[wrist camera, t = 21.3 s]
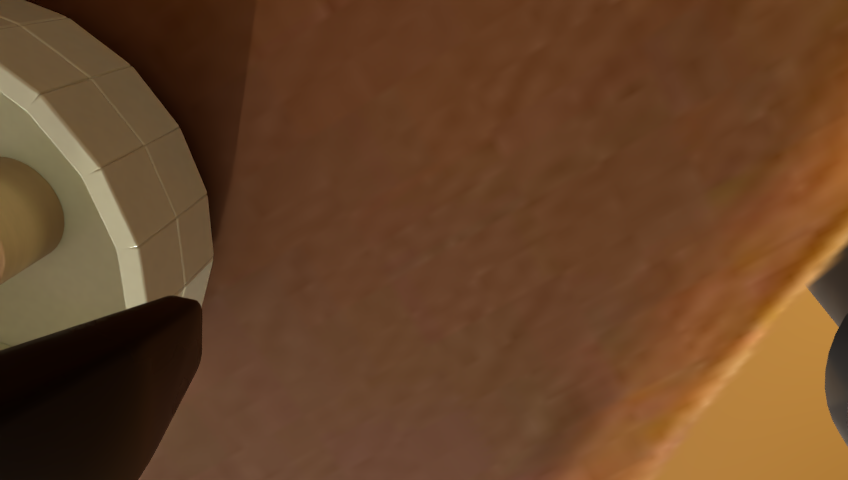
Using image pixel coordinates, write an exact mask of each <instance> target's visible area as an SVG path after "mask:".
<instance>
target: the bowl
mask: <svg viewBox="0 0 848 480" xmlns="http://www.w3.org/2000/svg"><path fill="white" fill-rule="evenodd" d="M0 156H1V157H8V158H12V159H15V160H18V161H20V162H22V163H24V164H26V165H28V166H30V167H31V168H33V169H34V170H35V171H37V172H38V173H39V174H40V175H41V176H42V177H43V178H44V179H45V180H46V181H47V182H48V183H49V184H50V186H51V187H52V188H53V190H54V191H55V193H56V195H57V197H58V199H59V201H60V203H61V206H62V210H63V214H64V232H63V235H62V238H61V240H60V242H59V244H58V246H57V247H56V248H55V249H54V250H53V251H52V252H51V253H49V254H48V255H46V256H45V257H43V258H42V259H40V260H38V261H37V262H35V263H34V264H32V265H31V266H29V267H28V268H26V269H24V270H23V271H21V272H20V273H18V274H17V275H15V276H14V277H12V278H10V279H9V280H7V281H6V282H4V283H3V284H1V285H0V350H3V349H6V348H9V347H12V346H15V345H18V344H21V343H24V342H27V341H30V340H34V339H37V338H40V337H43V336H46V335H49V334H52V333H55V332H58V331H61V330H64V329H67V328H70V327H73V326H76V325H80V324H83V323H86V322H89V321H92V320H95V319H98V318H101V317H104V316H107V315H110V314H113V313H116V312H119V311H123V310H126V309H129V308H132V307H135V306H138V305H141V304H144V303H147V302H150V301H153V300H156V299H159V298H162V297H165V296H169V295H174V296H179V297H184V298H189V299H194V300H197V301H198V302H199V303H200V305H201V308H202V303H203V299H204V295H205V291H206V287H207V283H208V279H209V275H210V271H211V267H212V263H213V256H214V252H213V242H212V232H211V223H210V213H209V203H208V195H207V190H206V188H205V186H204V183H203V181H202V178H201V176H200V174H199V171H198V169H197V167H196V164H195V162H194V159H193V157H192V155H191V152H190V150H189V147H188V145H187V143H186V140H185V138H184V135H183V133H182V131H181V129H180V128H179V125H178V124H177V123H176V121H175V120H174V119H173V117H172V116H171V115H170V114H169V112H168V111H167V110H166V108H165V107H164V106H163V105H162V103H161V102H160V101H159V99H158V98H157V97H156V96H155V94H154V93H153V92H152V90H151V89H150V88H149V87H148V85H147V84H146V83H145V81H144V80H143V79H142V78H141V76H140V75H139V74H138V72H137V71H136V70H135V69H134V67H133V66H131V65H130V64H129V63H128V62H126V61H125V60H124V59H123V58H121V57H120V56H119V55H117V54H116V53H115V52H113V51H112V50H111V49H109V48H108V47H107V46H105V45H104V44H103V43H102V42H100V41H99V40H98V39H96V38H95V37H94V36H92V35H91V34H90V33H88V32H87V31H86V30H84V29H83V28H82V27H81V26H79V25H78V24H77V23H75V22H74V21H73V20H71V19H70V18H67V17H66V16H64V15H61V14H59V13H56V12H54V11H51V10H49V9H46V8H43V7H41V6H38V5H36V4H33V3H31V2H28V1H25V0H0Z"/></svg>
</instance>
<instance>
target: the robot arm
mask: <svg viewBox="0 0 848 480" xmlns="http://www.w3.org/2000/svg"><path fill="white" fill-rule="evenodd" d="M201 355H202V308H201V305H200V303H199V302H198V301H197V300H194V299H189V298H184V297H179V296H174V295H169V296H165V297H162V298H159V299H156V300H153V301H150V302H147V303H144V304H141V305H138V306H135V307H132V308H129V309H126V310H123V311H119V312H116V313H113V314H110V315H107V316H104V317H101V318H98V319H95V320H92V321H89V322H86V323H83V324H80V325H76V326H73V327H70V328H67V329H64V330H61V331H58V332H55V333H52V334H49V335H46V336H43V337H40V338H37V339H34V340H30V341H27V342H24V343H21V344H18V345H15V346H12V347H9V348H6V349H3V350H0V480H138V479H139V477H140V476H141V474H142V473H143V471H144V470H145V468H146V466H147V465H148V463H149V462H150V460H151V458H152V456H153V454H154V453H155V451H156V449H157V447H158V445H159V443H160V441H161V439H162V437H163V436H164V434H165V432H166V430H167V428H168V426H169V424H170V422H171V420H172V418H173V416H174V414H175V412H176V410H177V408H178V406H179V404H180V402H181V400H182V399H183V397H184V395H185V393H186V391H187V389H188V387H189V385H190V383H191V381H192V379H193V377H194V375H195V373H196V371H197V369H198V367H199V364H200V360H201Z"/></svg>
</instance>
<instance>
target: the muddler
mask: <svg viewBox="0 0 848 480" xmlns="http://www.w3.org/2000/svg"><path fill="white" fill-rule="evenodd" d="M63 232H64V214H63V210H62V206H61V203H60V201H59V199H58V197H57V195H56V193H55V191H54V190H53V188H52V187H51V186H50V184H49V183H48V182H47V181H46V180H45V179H44V178H43V177H42V176H41V175H40V174H39V173H38V172H37V171H35V170H34V169H33V168H31V167H30V166H28V165H26V164H24V163H22V162H20V161H18V160H15V159H12V158H8V157H1V156H0V285H1V284H3V283H4V282H6V281H7V280H9V279H10V278H12V277H14V276H15V275H17V274H18V273H20V272H21V271H23V270H24V269H26V268H28V267H29V266H31V265H32V264H34V263H35V262H37V261H38V260H40V259H42V258H43V257H45V256H46V255H48V254H49V253H51V252H52V251H53V250H54V249H55V248H56V247H57V246H58V244H59V242H60V240H61V238H62V235H63Z"/></svg>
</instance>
